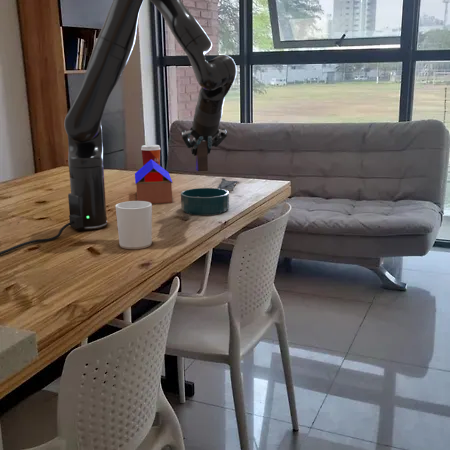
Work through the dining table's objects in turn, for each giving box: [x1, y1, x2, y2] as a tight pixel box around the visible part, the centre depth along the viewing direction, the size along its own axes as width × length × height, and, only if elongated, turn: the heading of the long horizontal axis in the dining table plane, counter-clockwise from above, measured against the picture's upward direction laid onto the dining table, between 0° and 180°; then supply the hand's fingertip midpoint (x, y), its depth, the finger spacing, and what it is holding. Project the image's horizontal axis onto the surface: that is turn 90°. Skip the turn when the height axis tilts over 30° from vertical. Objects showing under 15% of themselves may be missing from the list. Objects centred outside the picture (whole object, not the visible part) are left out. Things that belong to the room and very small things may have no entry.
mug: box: [115, 200, 153, 250], centre depth 149 cm, size 11×9×10 cm
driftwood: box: [217, 177, 239, 191], centre depth 218 cm, size 21×7×2 cm, turn 173°
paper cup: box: [140, 144, 162, 167], centre depth 229 cm, size 8×8×14 cm
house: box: [134, 159, 173, 204], centre depth 202 cm, size 12×20×12 cm, turn 9°
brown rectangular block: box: [195, 141, 209, 172], centre depth 178 cm, size 3×3×9 cm
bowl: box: [180, 187, 230, 216], centre depth 184 cm, size 15×15×6 cm
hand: (200, 153), depth 180 cm, fingers closed on brown rectangular block, 3 cm apart
